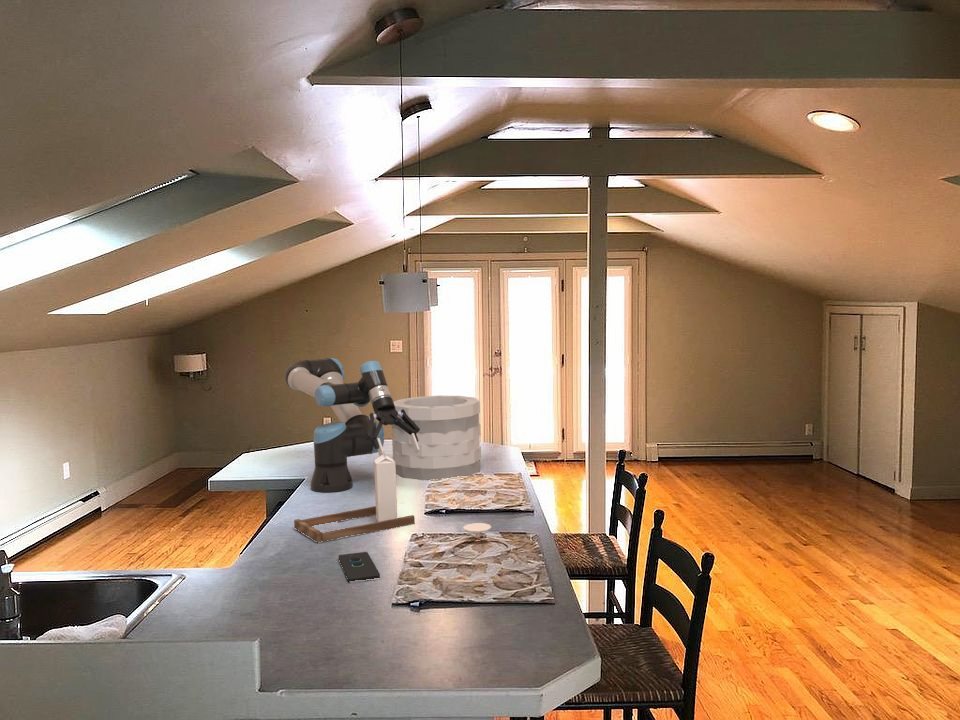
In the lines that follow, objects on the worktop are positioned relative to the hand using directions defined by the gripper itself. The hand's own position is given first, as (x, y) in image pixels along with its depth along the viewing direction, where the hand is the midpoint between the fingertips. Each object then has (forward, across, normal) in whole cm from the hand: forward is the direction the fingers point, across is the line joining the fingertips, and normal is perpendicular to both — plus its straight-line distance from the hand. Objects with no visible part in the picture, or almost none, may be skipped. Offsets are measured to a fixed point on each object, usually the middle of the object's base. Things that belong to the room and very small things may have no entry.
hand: (400, 454), depth 295 cm
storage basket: (-4, +32, +32) cm, 46 cm away
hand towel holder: (+50, -9, -42) cm, 66 cm away
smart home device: (+47, -44, -38) cm, 75 cm away
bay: (+25, -28, -9) cm, 39 cm away
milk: (+26, -17, -9) cm, 32 cm away
